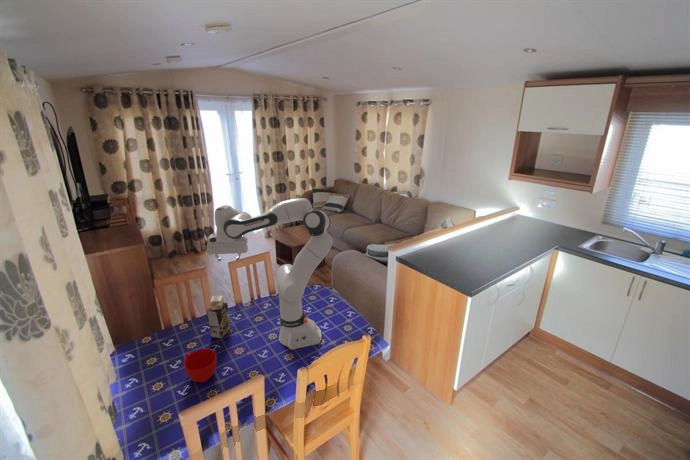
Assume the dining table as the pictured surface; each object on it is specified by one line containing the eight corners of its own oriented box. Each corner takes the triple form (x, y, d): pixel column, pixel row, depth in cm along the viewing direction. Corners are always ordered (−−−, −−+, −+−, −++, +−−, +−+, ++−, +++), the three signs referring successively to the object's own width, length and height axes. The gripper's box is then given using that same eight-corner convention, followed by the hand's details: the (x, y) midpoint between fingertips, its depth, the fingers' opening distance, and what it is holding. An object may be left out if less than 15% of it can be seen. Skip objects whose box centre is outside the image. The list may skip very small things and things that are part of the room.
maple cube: (223, 303, 169) (222, 295, 167) (221, 309, 164) (220, 300, 162) (213, 304, 168) (212, 296, 166) (211, 309, 163) (210, 301, 162)
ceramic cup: (200, 358, 153) (197, 341, 150) (225, 373, 146) (222, 355, 142) (175, 376, 143) (171, 359, 139) (200, 393, 135) (196, 374, 132)
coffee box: (221, 338, 167) (218, 312, 161) (210, 336, 168) (206, 310, 163) (231, 327, 175) (227, 302, 170) (220, 326, 177) (216, 301, 171)
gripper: (247, 233, 169) (249, 257, 174) (207, 234, 166) (210, 258, 171) (246, 238, 163) (248, 262, 168) (204, 239, 160) (207, 264, 165)
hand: (229, 260), depth 170 cm, fingers open, 8 cm apart
